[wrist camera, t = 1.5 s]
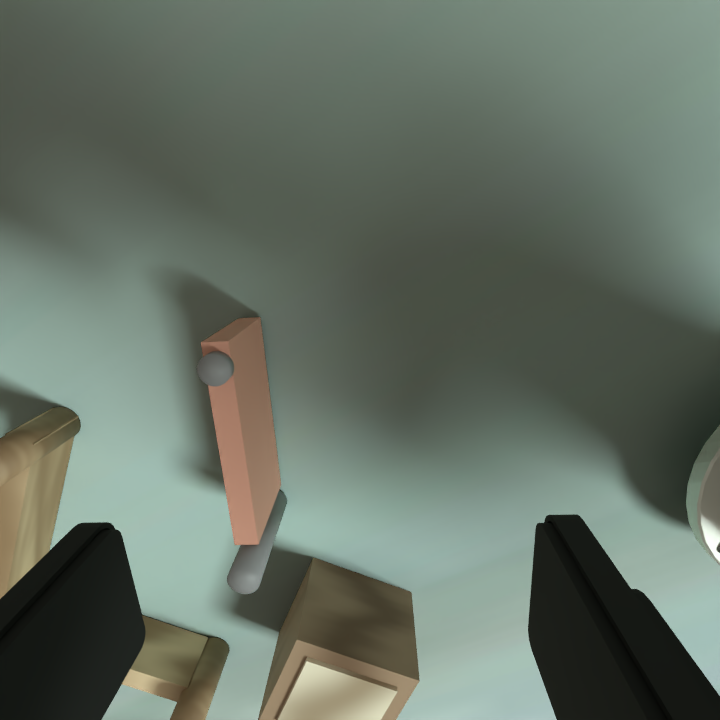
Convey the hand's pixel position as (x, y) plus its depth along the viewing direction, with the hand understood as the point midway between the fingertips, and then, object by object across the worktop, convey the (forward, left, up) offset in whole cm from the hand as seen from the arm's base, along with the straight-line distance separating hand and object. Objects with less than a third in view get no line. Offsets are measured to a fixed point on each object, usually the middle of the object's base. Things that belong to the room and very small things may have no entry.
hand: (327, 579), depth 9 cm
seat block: (-6, +17, -16) cm, 24 cm away
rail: (+1, +11, -16) cm, 19 cm away
